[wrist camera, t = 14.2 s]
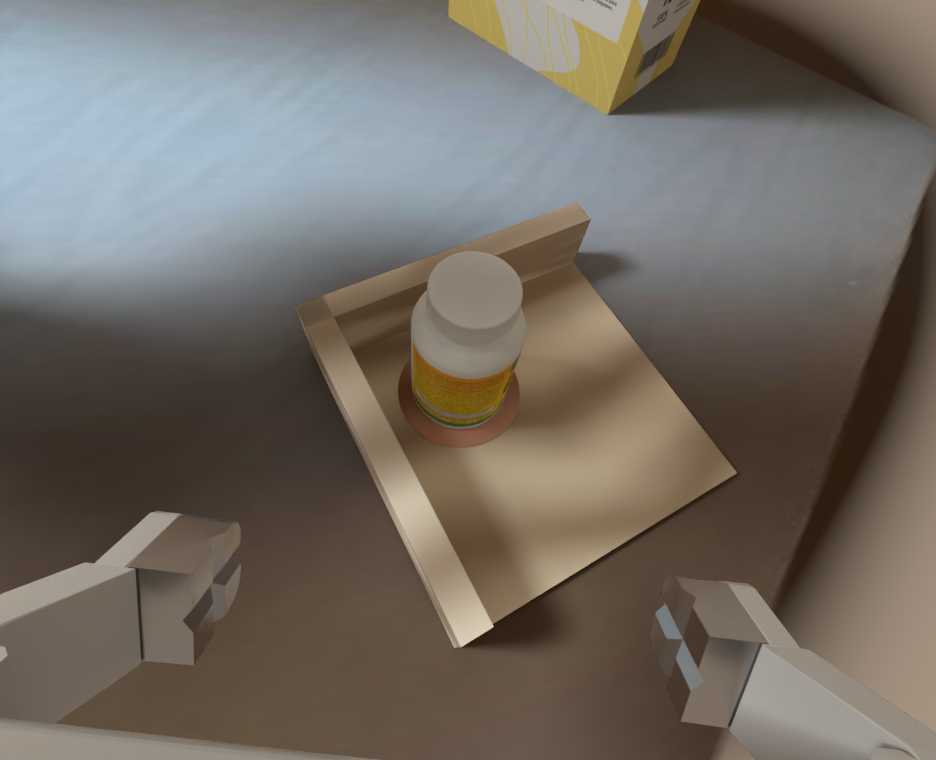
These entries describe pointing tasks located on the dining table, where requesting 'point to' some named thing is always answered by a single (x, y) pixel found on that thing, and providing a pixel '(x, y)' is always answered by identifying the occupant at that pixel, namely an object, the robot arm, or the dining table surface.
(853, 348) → the dining table surface
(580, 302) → the tray
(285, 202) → the dining table surface
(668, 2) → the pasta box
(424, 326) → the supplement bottle
